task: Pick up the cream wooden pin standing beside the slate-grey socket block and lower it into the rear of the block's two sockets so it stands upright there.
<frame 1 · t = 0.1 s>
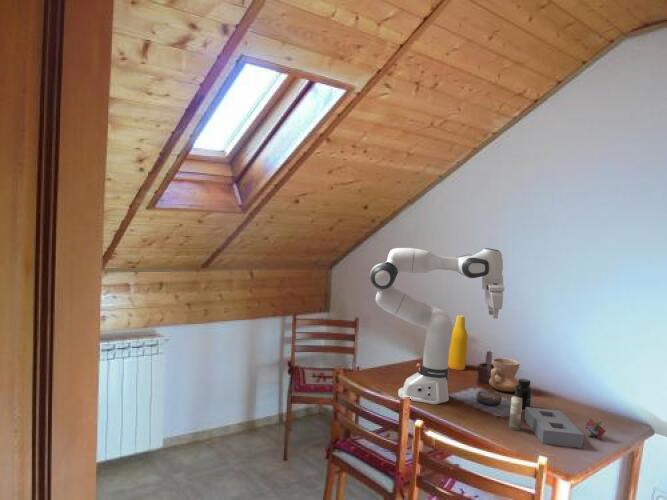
hand: (493, 316, 222), 39 cm above the table, tool pointing down, fingers open, 8 cm apart
beer bottle: (456, 368, 279), on the table
ceramic jug: (503, 390, 246), on the table
supplement bottle: (522, 407, 222), on the table
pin: (514, 428, 197), on the table
socket block: (551, 432, 195), on the table
geometric puzzle: (594, 437, 194), on the table
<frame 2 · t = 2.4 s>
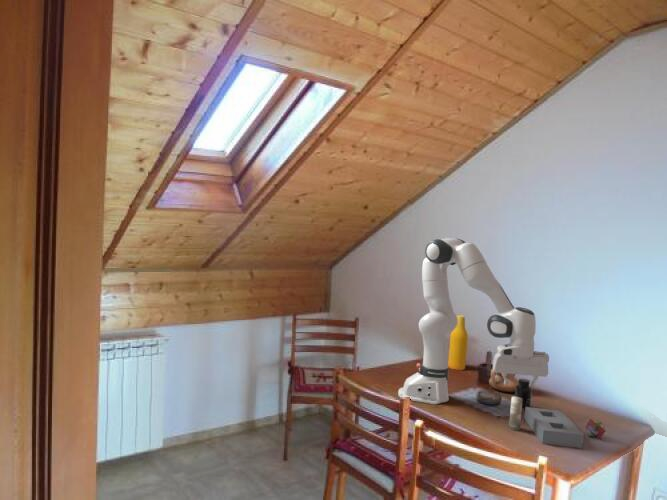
hand: (519, 385, 196), 17 cm above the table, tool pointing down, fingers open, 8 cm apart
nothing on the table moved.
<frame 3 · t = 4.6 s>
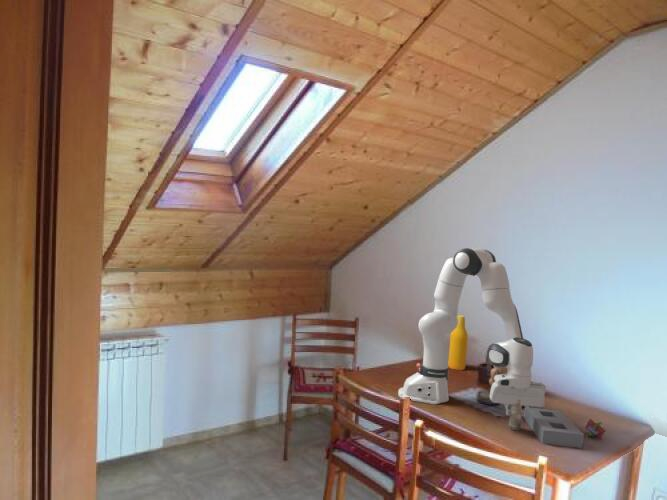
hand: (515, 415, 196), 5 cm above the table, tool pointing down, fingers closed on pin, 4 cm apart
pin: (514, 428, 197), on the table, touching gripper
everything else where it was.
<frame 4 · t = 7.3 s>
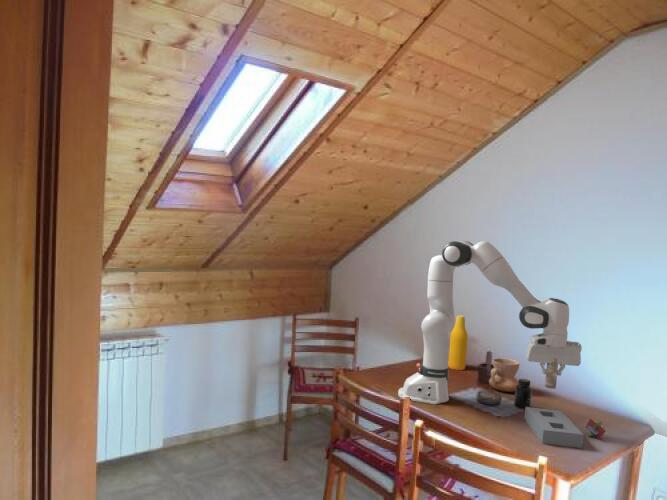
hand: (551, 374, 200), 21 cm above the table, tool pointing down, fingers closed on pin, 4 cm apart
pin: (550, 387, 200), point 16 cm above the table, touching gripper
everything else where it was.
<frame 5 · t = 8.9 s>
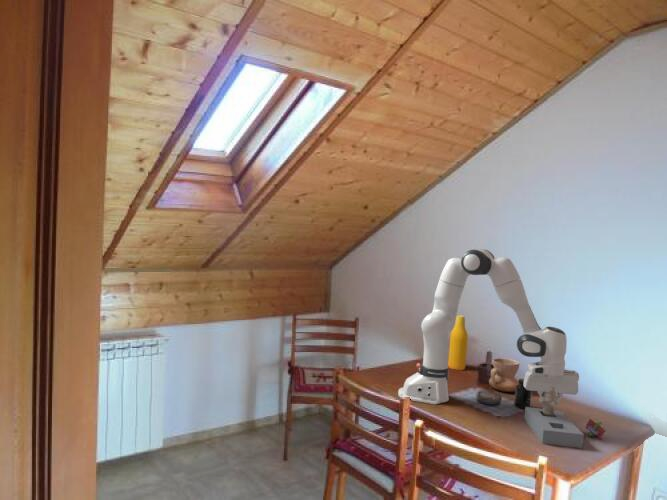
hand: (549, 402, 201), 10 cm above the table, tool pointing down, fingers closed on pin, 4 cm apart
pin: (548, 415, 201), point 5 cm above the table, touching gripper
everything else where it was.
when the fingers open (8 cm above the table, at t = 10.0 s): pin stays where it is, resting on socket block.
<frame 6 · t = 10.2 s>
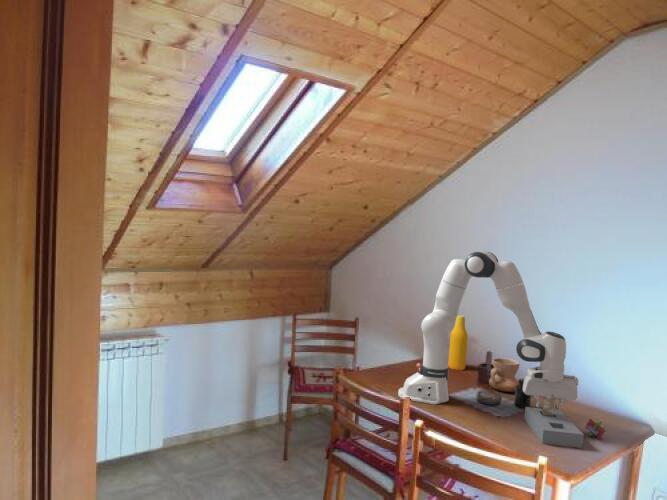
hand: (548, 407, 201), 8 cm above the table, tool pointing down, fingers open, 6 cm apart
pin: (546, 422, 201), point 2 cm above the table, touching socket block
everything else where it was.
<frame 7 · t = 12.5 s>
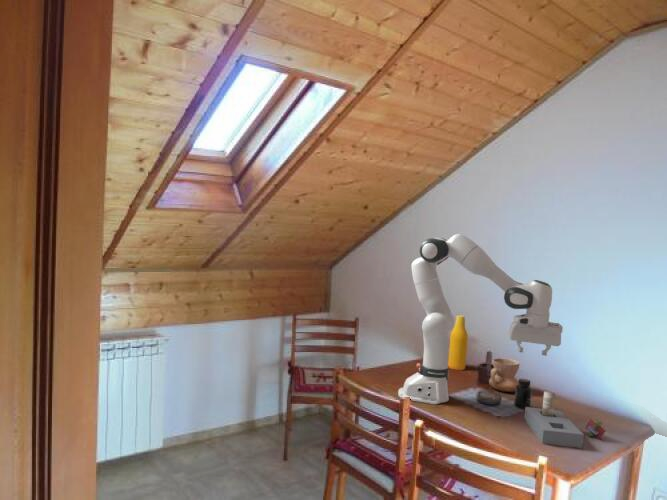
hand: (532, 353, 207), 27 cm above the table, tool pointing down, fingers open, 8 cm apart
nothing on the table moved.
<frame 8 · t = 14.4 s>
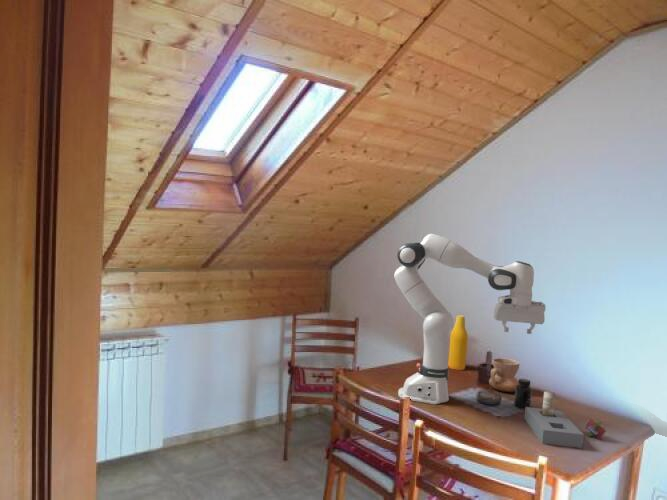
hand: (517, 332, 213), 34 cm above the table, tool pointing down, fingers open, 8 cm apart
nothing on the table moved.
at the end: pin 0.1 cm from the target spot on the socket block, point 1.5 cm above the socket block's base; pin tilted 0°; the gripper is holding nothing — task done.
